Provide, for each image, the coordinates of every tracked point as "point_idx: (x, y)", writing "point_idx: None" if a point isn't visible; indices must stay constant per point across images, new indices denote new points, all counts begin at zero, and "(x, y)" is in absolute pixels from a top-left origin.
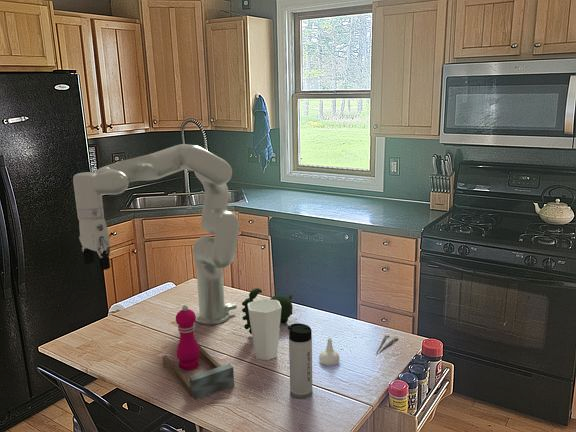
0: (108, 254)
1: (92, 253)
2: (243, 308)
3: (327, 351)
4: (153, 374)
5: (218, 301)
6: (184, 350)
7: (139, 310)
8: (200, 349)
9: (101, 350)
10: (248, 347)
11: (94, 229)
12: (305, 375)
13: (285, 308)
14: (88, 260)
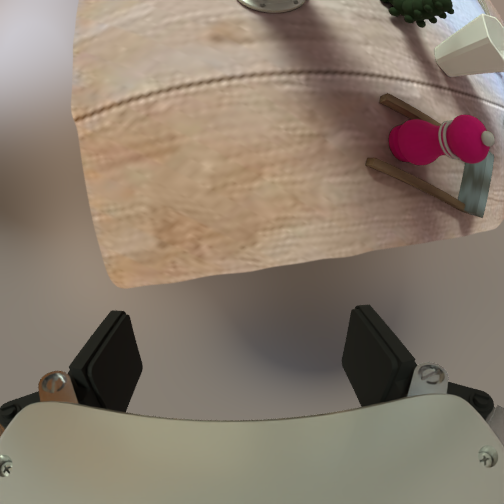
0: (457, 387)
1: (101, 361)
2: (431, 8)
3: None
4: (381, 202)
5: None
6: (435, 159)
7: (98, 67)
8: (402, 105)
9: (212, 216)
10: (417, 49)
11: None
12: None
13: None
14: (130, 362)
